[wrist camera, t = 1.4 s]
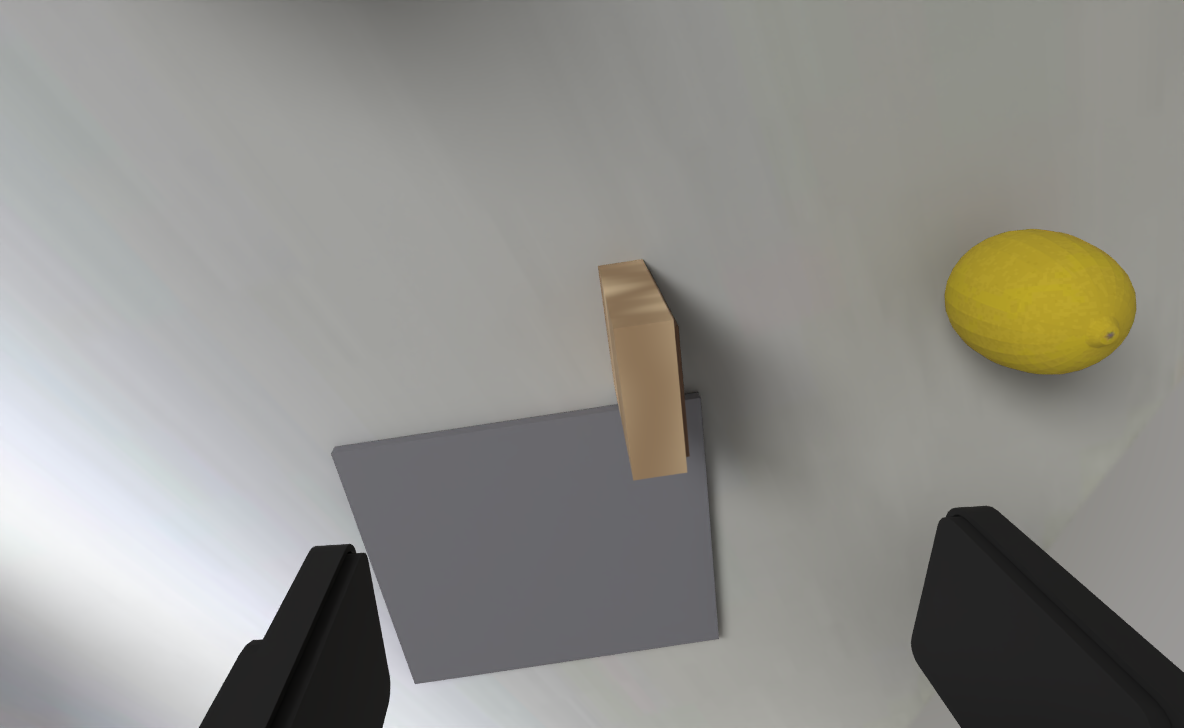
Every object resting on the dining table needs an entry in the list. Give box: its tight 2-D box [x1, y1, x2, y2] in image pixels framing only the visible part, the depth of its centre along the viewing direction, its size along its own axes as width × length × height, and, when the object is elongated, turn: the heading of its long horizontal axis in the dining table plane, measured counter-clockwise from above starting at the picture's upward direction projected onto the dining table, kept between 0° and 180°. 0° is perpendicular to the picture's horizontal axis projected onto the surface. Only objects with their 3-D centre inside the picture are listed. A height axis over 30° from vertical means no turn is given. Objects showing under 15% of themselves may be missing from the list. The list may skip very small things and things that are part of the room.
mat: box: [331, 392, 719, 684], centre depth 34 cm, size 18×16×1 cm
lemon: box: [945, 229, 1136, 374], centre depth 25 cm, size 6×6×8 cm
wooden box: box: [598, 259, 690, 480], centre depth 25 cm, size 2×6×8 cm, turn 8°
